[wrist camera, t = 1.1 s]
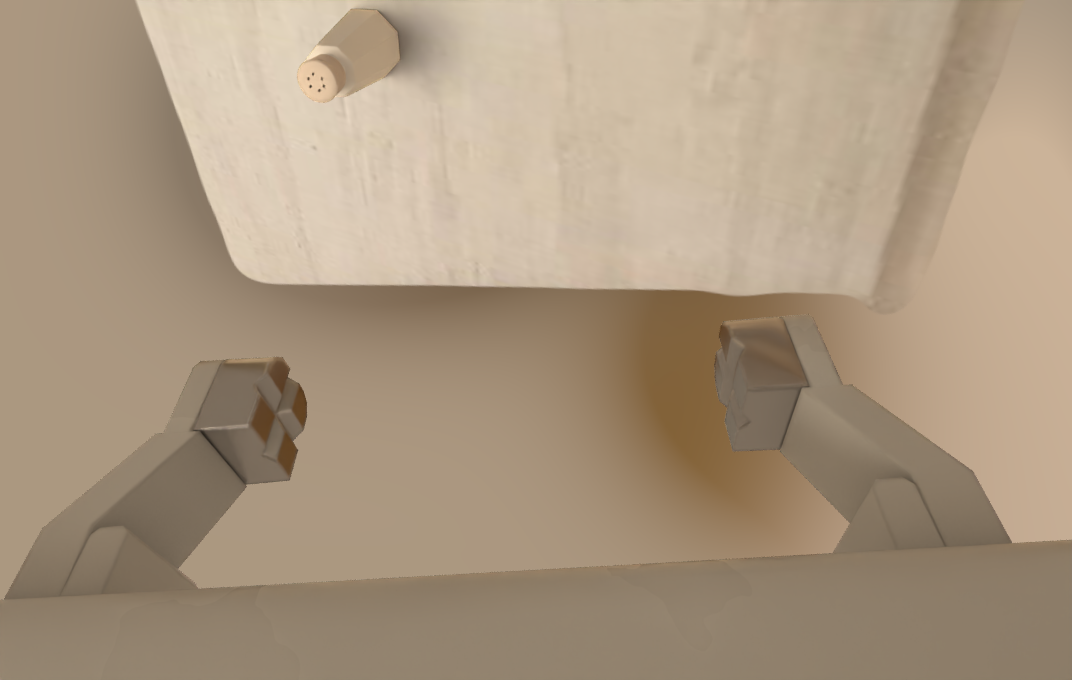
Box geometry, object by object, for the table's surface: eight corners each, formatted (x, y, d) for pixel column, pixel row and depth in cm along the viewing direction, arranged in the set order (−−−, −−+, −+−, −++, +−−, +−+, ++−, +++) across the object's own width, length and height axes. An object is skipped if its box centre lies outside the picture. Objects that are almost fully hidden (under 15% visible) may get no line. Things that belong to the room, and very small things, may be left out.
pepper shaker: (329, 60, 53) (270, 101, 44) (344, -7, 49) (284, 23, 41) (391, 90, 54) (345, 136, 45) (410, 26, 50) (364, 62, 42)
